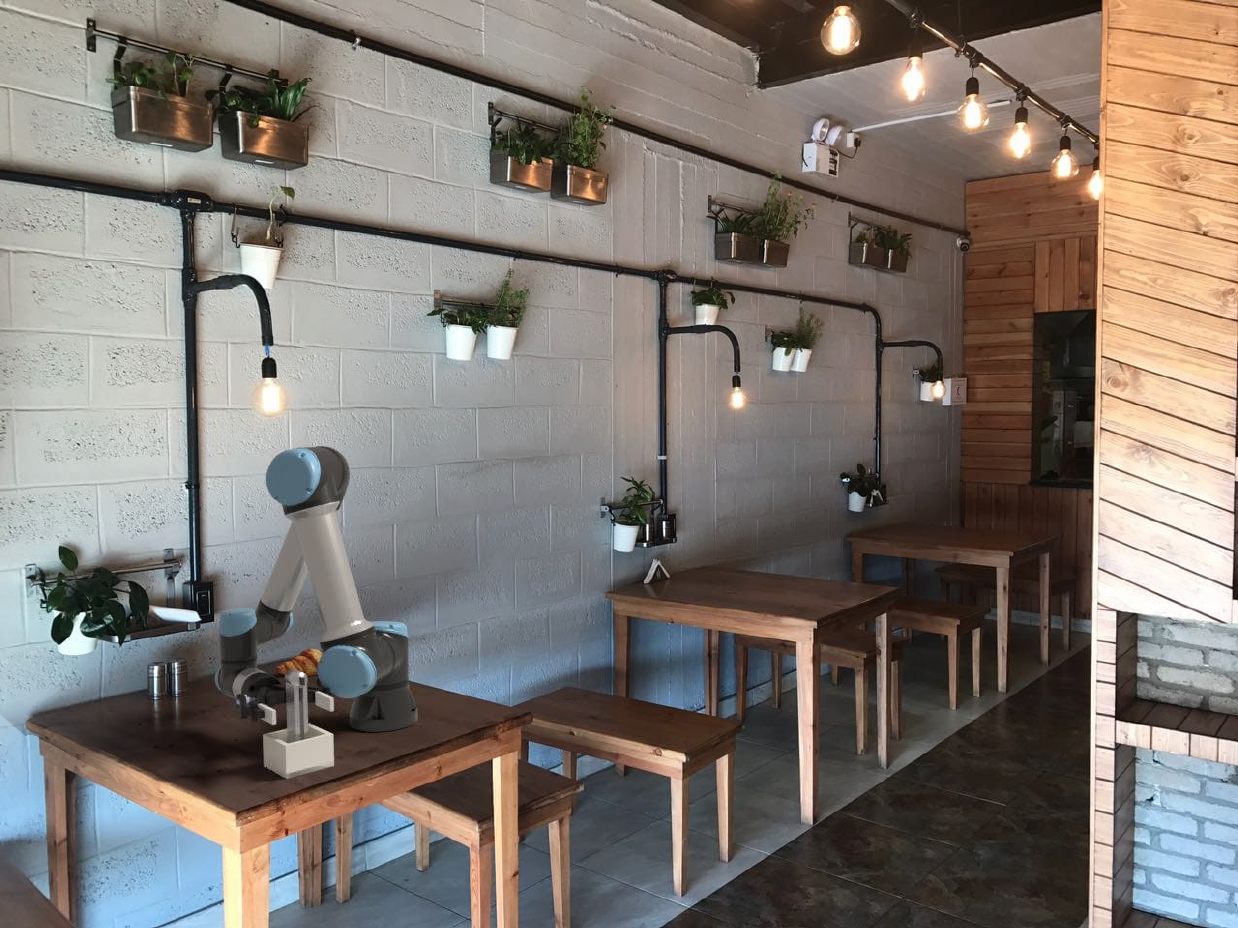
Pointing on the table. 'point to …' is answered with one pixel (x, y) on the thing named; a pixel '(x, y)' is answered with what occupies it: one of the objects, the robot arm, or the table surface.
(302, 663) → the croissant
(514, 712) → the table surface
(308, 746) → the caddy
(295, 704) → the tongs
